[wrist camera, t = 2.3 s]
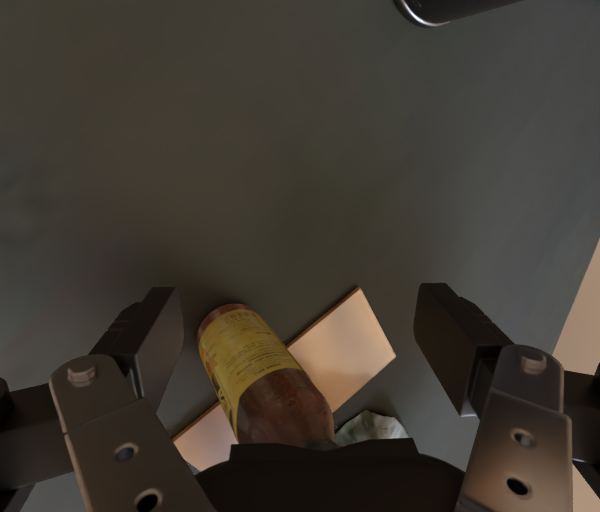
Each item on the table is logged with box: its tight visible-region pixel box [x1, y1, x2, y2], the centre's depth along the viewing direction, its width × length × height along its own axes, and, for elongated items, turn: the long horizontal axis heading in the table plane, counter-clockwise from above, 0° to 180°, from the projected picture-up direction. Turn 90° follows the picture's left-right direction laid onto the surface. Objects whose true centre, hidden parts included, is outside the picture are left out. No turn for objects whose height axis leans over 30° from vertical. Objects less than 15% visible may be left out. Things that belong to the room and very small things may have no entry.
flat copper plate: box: [172, 287, 396, 472], centre depth 40 cm, size 24×12×1 cm, turn 120°
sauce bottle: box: [197, 304, 340, 451], centre depth 25 cm, size 6×6×20 cm
